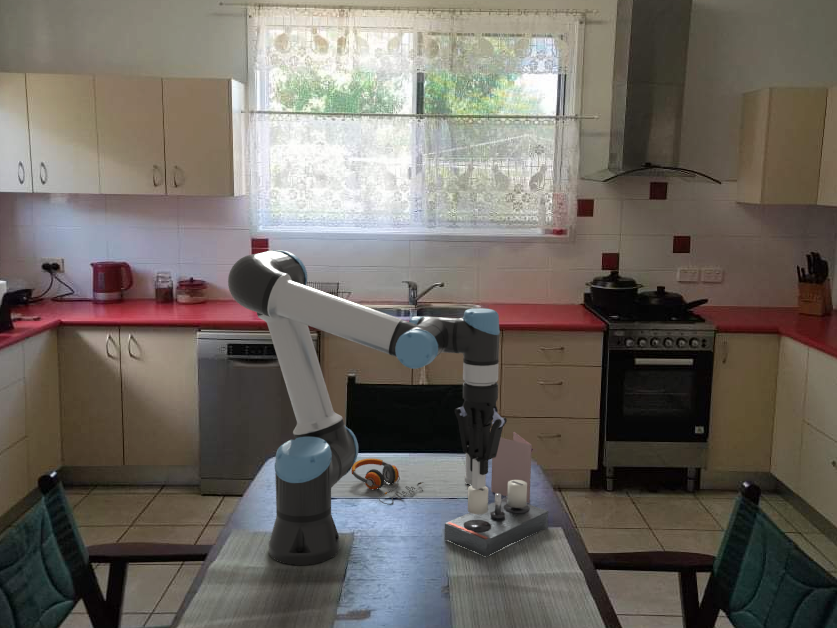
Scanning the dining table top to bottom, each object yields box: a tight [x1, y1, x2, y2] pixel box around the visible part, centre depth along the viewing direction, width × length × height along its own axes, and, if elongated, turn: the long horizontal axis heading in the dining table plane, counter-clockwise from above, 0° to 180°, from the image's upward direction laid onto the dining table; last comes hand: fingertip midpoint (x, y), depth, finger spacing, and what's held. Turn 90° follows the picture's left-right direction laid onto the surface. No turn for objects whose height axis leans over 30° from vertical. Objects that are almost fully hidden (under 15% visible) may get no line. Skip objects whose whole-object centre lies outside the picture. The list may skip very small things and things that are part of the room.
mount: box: [444, 496, 549, 558], centre depth 183 cm, size 12×22×4 cm, turn 135°
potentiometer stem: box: [490, 493, 505, 520], centre depth 182 cm, size 3×3×5 cm
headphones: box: [351, 458, 425, 506], centre depth 210 cm, size 17×5×20 cm
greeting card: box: [490, 431, 533, 504], centre depth 205 cm, size 11×7×15 cm, turn 16°
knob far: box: [506, 480, 527, 508], centre depth 187 cm, size 4×4×5 cm
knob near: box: [467, 485, 489, 514], centre depth 177 cm, size 4×4×5 cm
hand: (478, 487), depth 176 cm, fingers closed
